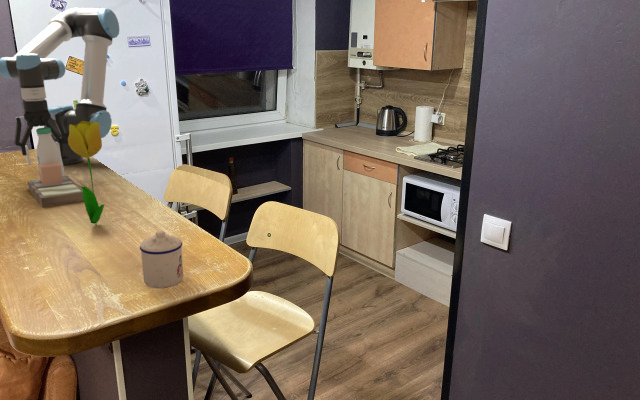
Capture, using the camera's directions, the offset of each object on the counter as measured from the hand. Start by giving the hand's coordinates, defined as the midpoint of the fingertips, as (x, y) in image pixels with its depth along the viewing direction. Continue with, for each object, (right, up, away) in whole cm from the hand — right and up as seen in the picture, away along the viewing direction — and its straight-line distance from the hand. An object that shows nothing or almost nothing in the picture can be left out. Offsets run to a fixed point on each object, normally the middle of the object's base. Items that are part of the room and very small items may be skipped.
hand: (44, 161), depth 193 cm
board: (+10, -12, -12) cm, 20 cm away
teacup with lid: (+64, -32, -71) cm, 101 cm away
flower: (+35, -21, -40) cm, 57 cm away
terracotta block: (+7, -7, -9) cm, 13 cm away
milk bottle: (+3, -7, +2) cm, 8 cm away
